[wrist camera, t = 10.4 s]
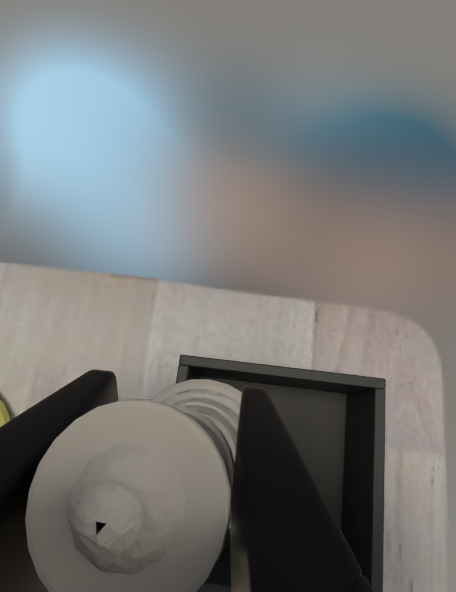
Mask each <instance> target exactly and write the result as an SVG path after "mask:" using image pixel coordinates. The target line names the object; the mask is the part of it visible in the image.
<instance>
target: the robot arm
mask: <svg viewBox="0 0 456 592" xmlns="http://www.w3.org/2000/svg"><path fill="white" fill-rule="evenodd" d="M117 401H118V393H117V383H116V377H115V374H114V373H113V372H111V371H103V370H90V371H88V372H87V373H85V374H83V375H82V376H80V377H79V378H77V379H75V380H74V381H72V382H71V383H69V384H67V385H66V386H64V387H63V388H61V389H60V390H58V391H56V392H55V393H53V394H52V395H50V396H48V397H47V398H45V399H44V400H42V401H40V402H39V403H37V404H36V405H34V406H33V407H31V408H29V409H28V410H26V411H25V412H23V413H21V414H20V415H18V416H17V417H15V418H13V419H12V420H10V421H9V422H7V423H6V424H4V425H2V426H1V427H0V592H49V591H48V590H47V588H46V587H45V585H44V584H43V583H42V581H41V580H40V578H39V577H38V575H37V572H36V569H35V566H34V564H33V561H32V558H31V555H30V553H29V550H28V543H27V533H26V523H25V517H26V510H27V502H28V495H29V489H30V486H31V484H32V481H33V478H34V476H35V473H36V470H37V468H38V465H39V463H40V461H41V460H42V458H43V457H44V455H45V454H46V452H47V451H48V449H49V447H50V446H51V444H52V443H53V441H54V440H55V439H56V438H57V437H58V436H59V435H60V434H61V433H62V432H63V431H64V430H65V429H66V428H67V427H68V426H69V425H70V424H72V423H73V422H74V421H75V420H76V419H77V418H79V417H81V416H83V415H84V414H86V413H88V412H90V411H91V410H93V409H95V408H97V407H98V406H102V405H106V404H109V403H113V402H117ZM230 555H231V592H374V591H373V590H372V588H371V586H370V584H369V582H368V580H367V578H366V577H365V576H364V575H361V572H362V570H361V567H360V566H359V564H358V562H357V560H356V558H355V556H354V554H353V552H352V550H351V549H350V547H349V545H348V543H347V541H346V539H345V537H344V535H343V533H342V532H341V530H340V528H339V526H338V524H337V522H336V520H335V518H334V516H333V514H332V513H331V511H330V509H329V507H328V505H327V503H326V501H325V499H324V497H323V496H322V494H321V492H320V490H319V488H318V486H317V484H316V482H315V480H314V479H313V477H312V475H311V473H310V471H309V469H308V467H307V465H306V463H305V462H304V460H303V458H302V456H301V454H300V452H299V450H298V448H297V446H296V445H295V443H294V441H293V439H292V437H291V435H290V433H289V431H288V429H287V427H286V426H285V424H284V422H283V420H282V418H281V416H280V414H279V412H278V410H277V409H276V407H275V405H274V403H273V401H272V399H271V397H270V395H269V393H268V392H267V390H266V389H265V388H260V387H251V386H245V387H243V389H242V395H241V404H240V413H239V422H238V430H237V442H236V454H235V465H234V477H233V489H232V500H231V520H230Z"/></svg>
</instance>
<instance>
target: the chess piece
mask: <svg viewBox="0 0 456 592" xmlns="http://www.w3.org/2000/svg"><path fill="white" fill-rule="evenodd" d="M241 395H242V392H240V391H238V390H237V389H235V388H233V387H232V386H230V385H228V384H225V383H221V382H217V381H213V380H210V379H191V380H188V381H184V382H181V383H177V384H174V385H172V386H170V387H168V388H167V389H165V390H163V391H161V392H160V393H158V394H157V395H156V396H155V397H154V398H153V399H152V400H150V399H125V400H120V401H117V402H113V403H109V404H106V405H102V406H98V407H97V408H95V409H93V410H91V411H90V412H88V413H86V414H84V415H83V416H81V417H79V418H77V419H76V420H75V421H74V422H73V423H72V424H70V425H69V426H68V427H67V428H66V429H65V430H64V431H63V432H62V433H61V434H60V435H59V436H58V437H57V438H56V439H55V440H54V441H53V443H52V444H51V446H50V447H49V449H48V451H47V452H46V454H45V455H44V457H43V458H42V460H41V461H40V463H39V465H38V468H37V470H36V473H35V476H34V478H33V481H32V484H31V486H30V489H29V495H28V502H27V510H26V517H25V523H26V533H27V543H28V550H29V553H30V555H31V558H32V561H33V564H34V566H35V569H36V572H37V575H38V577H39V578H40V580H41V581H42V583H43V584H44V585H45V587H46V588H47V590H48V591H49V592H197V591H198V590H199V588H200V587H201V586H202V585H203V584H204V583H205V582H206V581H207V579H208V578H209V576H210V574H211V572H212V570H213V568H214V566H215V565H216V563H217V561H218V559H219V557H220V555H221V553H222V551H223V549H224V545H225V541H226V537H227V533H228V529H229V528H230V520H231V500H232V489H233V477H234V465H235V454H236V442H237V430H238V422H239V413H240V404H241Z"/></svg>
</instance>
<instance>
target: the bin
mask: <svg viewBox="0 0 456 592" xmlns="http://www.w3.org/2000/svg"><path fill="white" fill-rule="evenodd" d="M191 379H210V380H213V381H217V382H221V383H225V384H228V385H230V386H232V387H233V388H235V389H237V390H238V391H240V392H242V389H243V387H245V386H251V387H260V388H265V389H266V390H267V392H268V393H269V395H270V397H271V399H272V401H273V403H274V405H275V407H276V409H277V410H278V412H279V414H280V416H281V418H282V420H283V422H284V424H285V426H286V427H287V429H288V431H289V433H290V435H291V437H292V439H293V441H294V443H295V445H296V446H297V448H298V450H299V452H300V454H301V456H302V458H303V460H304V462H305V463H306V465H307V467H308V469H309V471H310V473H311V475H312V477H313V479H314V480H315V482H316V484H317V486H318V488H319V490H320V492H321V494H322V496H323V497H324V499H325V501H326V503H327V505H328V507H329V509H330V511H331V513H332V514H333V516H334V518H335V520H336V522H337V524H338V526H339V528H340V530H341V532H342V533H343V535H344V537H345V539H346V541H347V543H348V545H349V547H350V549H351V550H352V552H353V554H354V556H355V558H356V560H357V562H358V564H359V566H360V567H361V570H362V572H361V575H364V576H365V577H366V578H367V580H368V582H369V584H370V586H371V588H372V590H373V591H374V592H383V532H384V460H385V390H384V389H385V388H386V380H385V379H382V378H374V377H365V376H357V375H349V374H340V373H332V372H323V371H315V370H306V369H298V368H289V367H281V366H272V365H264V364H255V363H247V362H238V361H230V360H222V359H213V358H205V357H196V356H188V355H180V360H179V367H178V373H177V380H176V384H177V383H181V382H184V381H188V380H191ZM197 592H231V555H230V528H229V529H228V533H227V537H226V541H225V545H224V549H223V551H222V553H221V555H220V557H219V559H218V561H217V563H216V565H215V566H214V568H213V570H212V572H211V574H210V576H209V578H208V579H207V581H206V582H205V583H204V584H203V585H202V586H201V587H200V588H199V590H198V591H197Z"/></svg>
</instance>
